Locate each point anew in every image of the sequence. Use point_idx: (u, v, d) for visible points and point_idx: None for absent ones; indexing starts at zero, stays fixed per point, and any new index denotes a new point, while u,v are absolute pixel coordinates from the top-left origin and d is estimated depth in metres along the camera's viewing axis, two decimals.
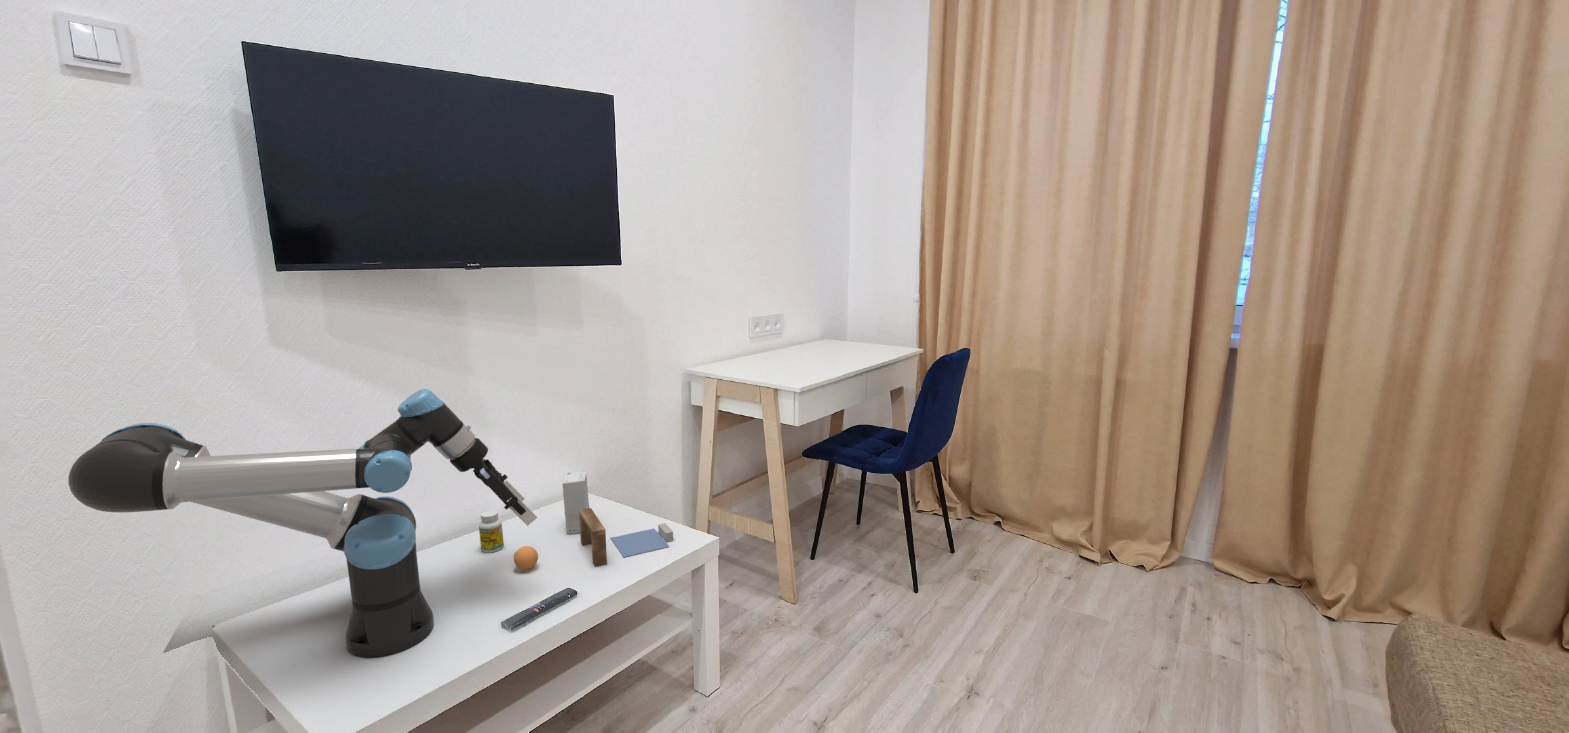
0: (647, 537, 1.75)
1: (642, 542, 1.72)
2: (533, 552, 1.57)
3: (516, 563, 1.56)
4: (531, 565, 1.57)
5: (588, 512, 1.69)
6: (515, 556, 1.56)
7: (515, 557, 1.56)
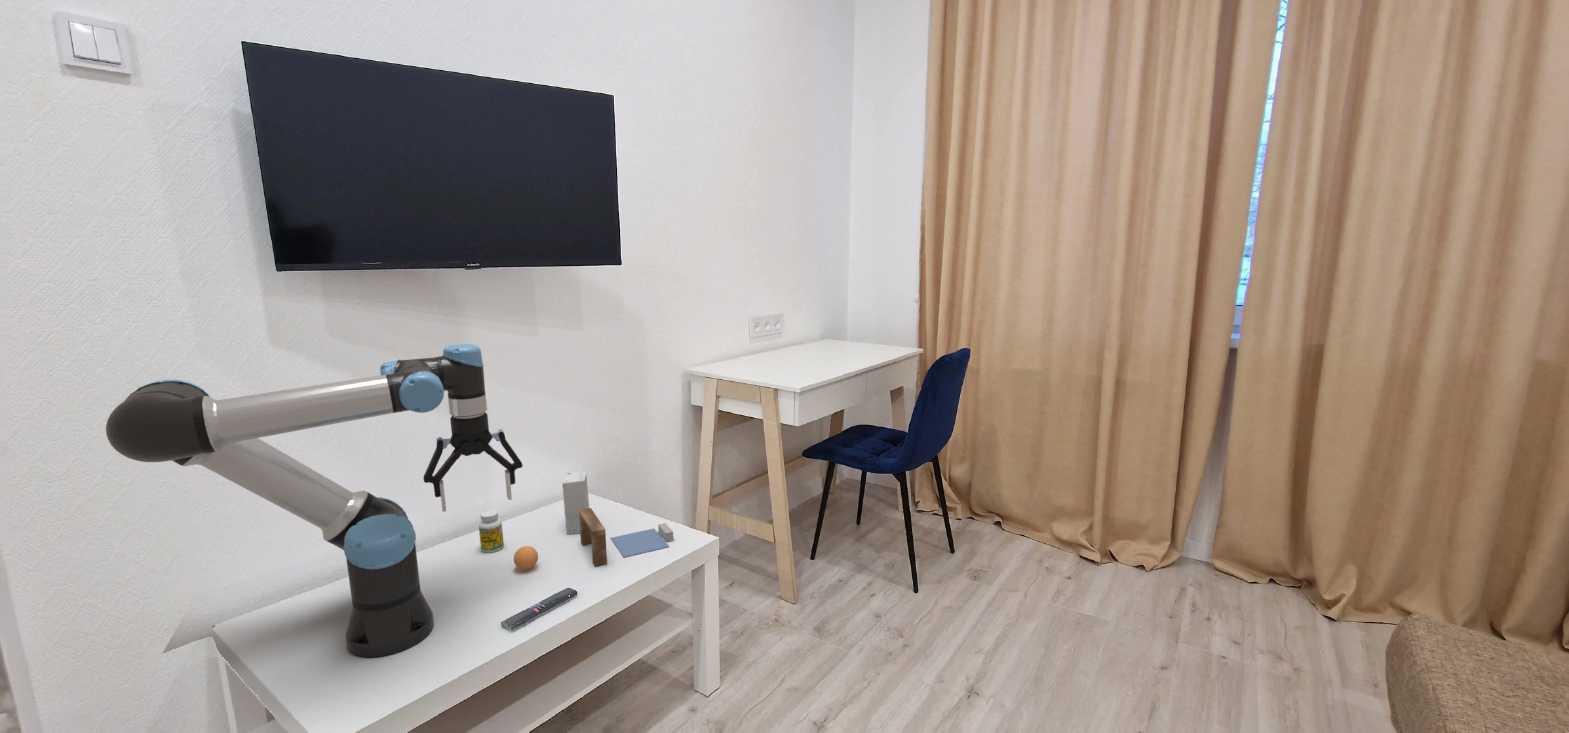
0: (647, 537, 1.75)
1: (642, 542, 1.72)
2: (533, 552, 1.57)
3: (516, 563, 1.56)
4: (531, 565, 1.57)
5: (588, 512, 1.69)
6: (515, 556, 1.56)
7: (515, 557, 1.56)
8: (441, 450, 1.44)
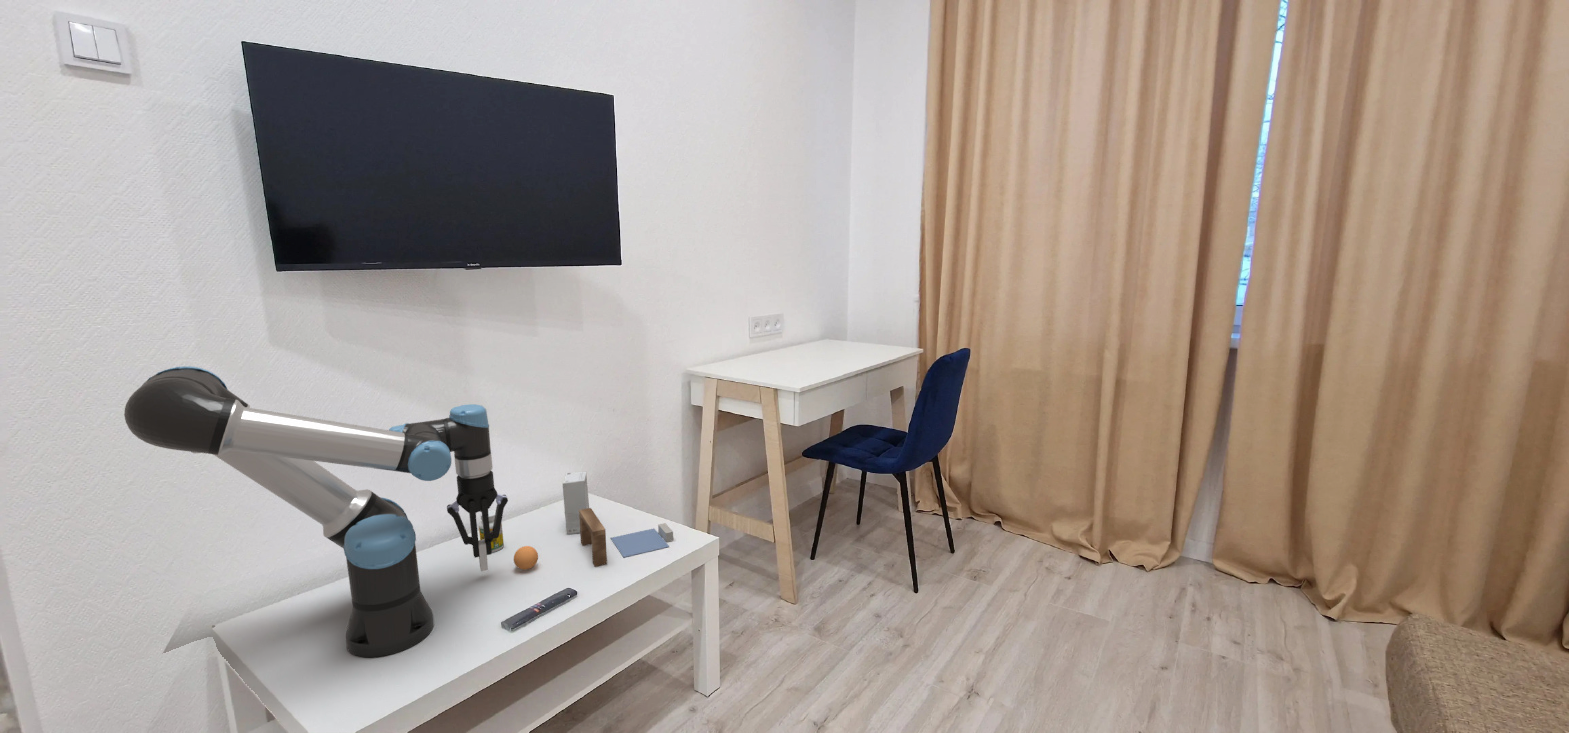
0: (647, 537, 1.75)
1: (642, 542, 1.72)
2: (533, 552, 1.57)
3: (516, 563, 1.56)
4: (531, 565, 1.57)
5: (588, 512, 1.69)
6: (515, 556, 1.56)
7: (515, 557, 1.56)
8: (456, 514, 1.48)
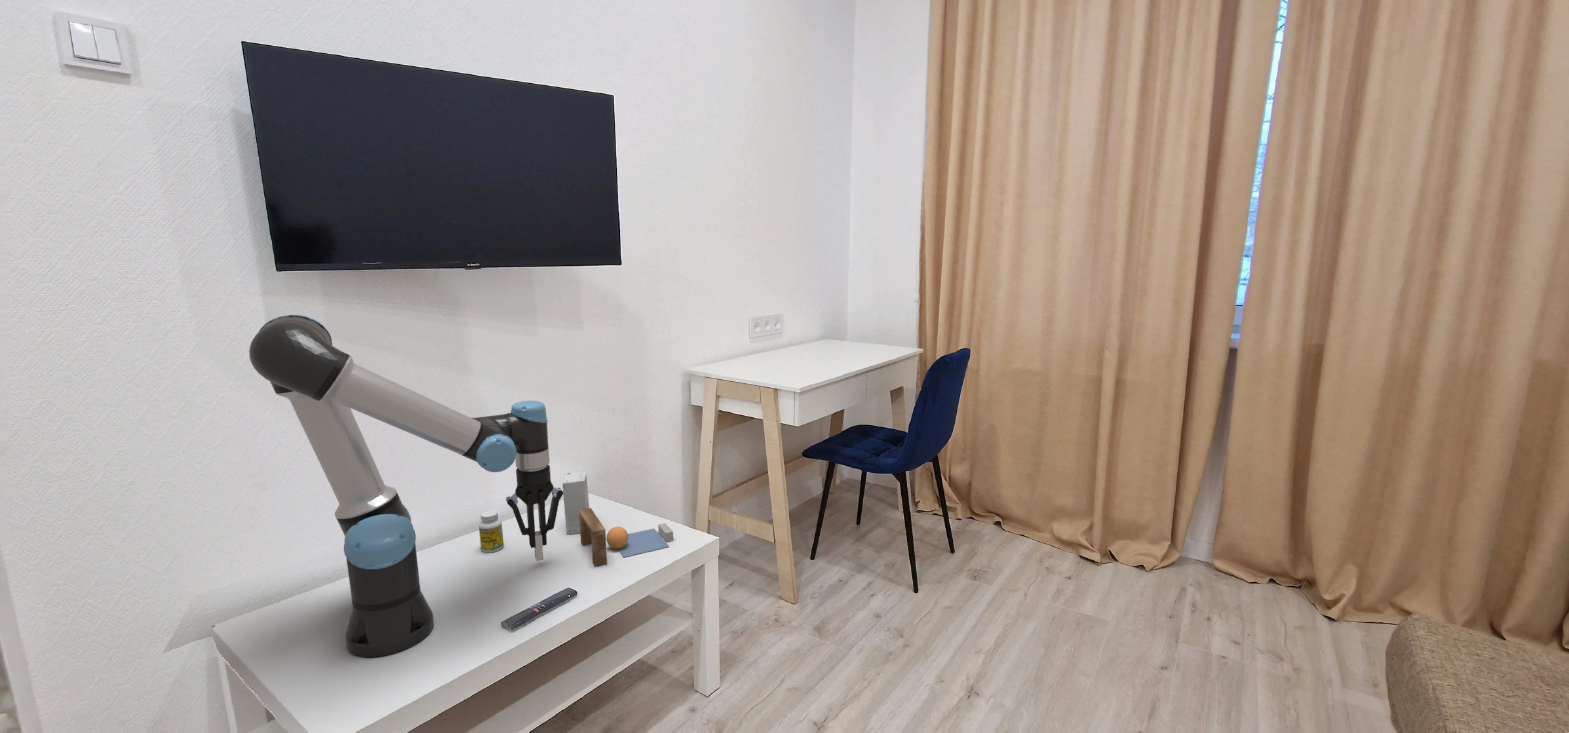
0: (647, 537, 1.75)
1: (642, 542, 1.72)
2: None
3: (617, 531, 1.68)
4: (615, 545, 1.67)
5: (588, 512, 1.69)
6: (622, 529, 1.69)
7: (622, 529, 1.69)
8: (515, 506, 1.54)
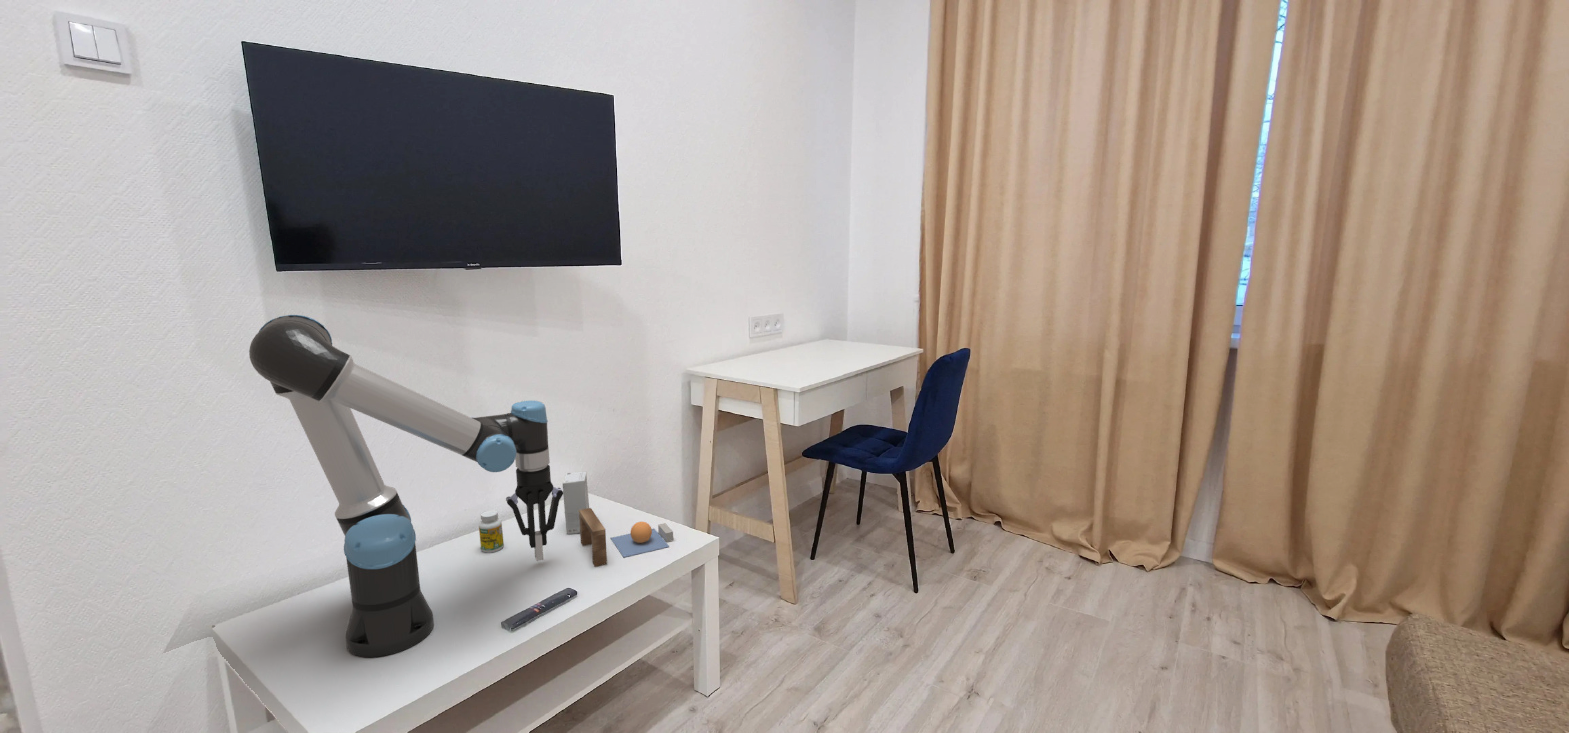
0: None
1: None
2: (634, 536, 1.70)
3: (649, 537, 1.72)
4: (644, 530, 1.70)
5: (588, 512, 1.69)
6: None
7: None
8: (515, 506, 1.54)
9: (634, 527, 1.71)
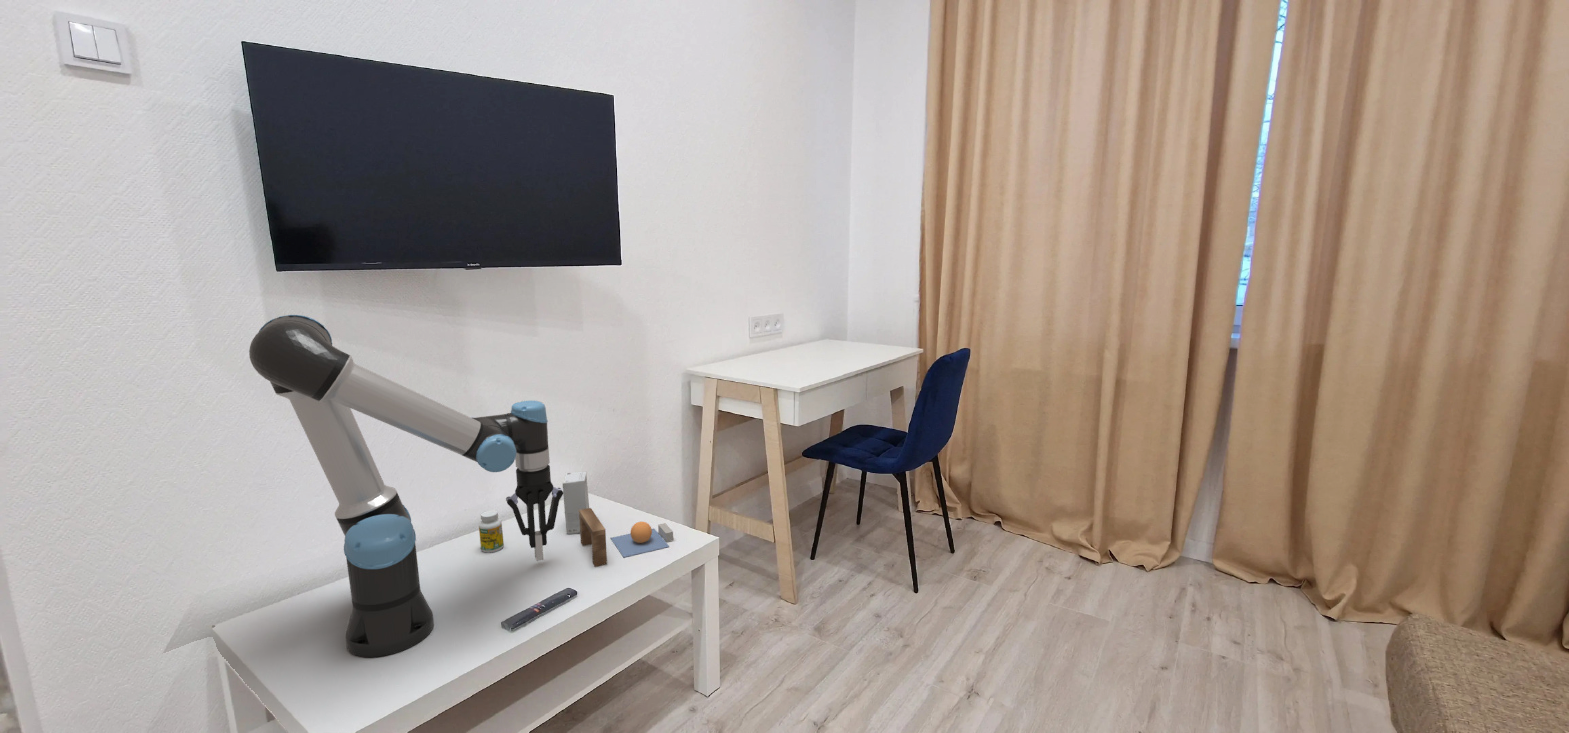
0: None
1: None
2: (634, 536, 1.70)
3: (649, 537, 1.72)
4: (644, 530, 1.70)
5: (588, 512, 1.69)
6: None
7: None
8: (515, 506, 1.54)
9: (634, 527, 1.71)
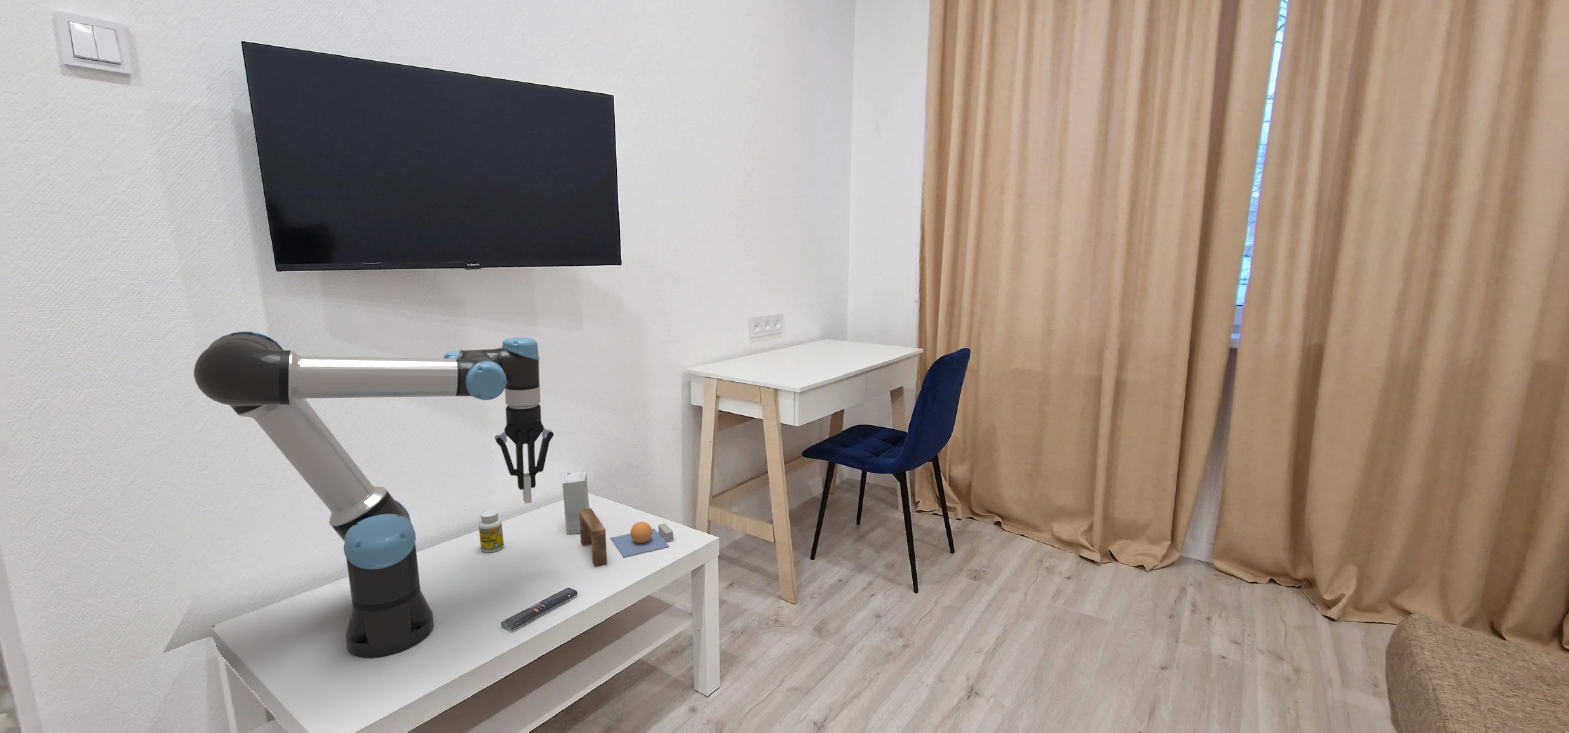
0: None
1: None
2: (634, 536, 1.70)
3: (649, 537, 1.72)
4: (644, 530, 1.70)
5: (588, 512, 1.69)
6: None
7: None
8: (504, 445, 1.50)
9: (634, 527, 1.71)
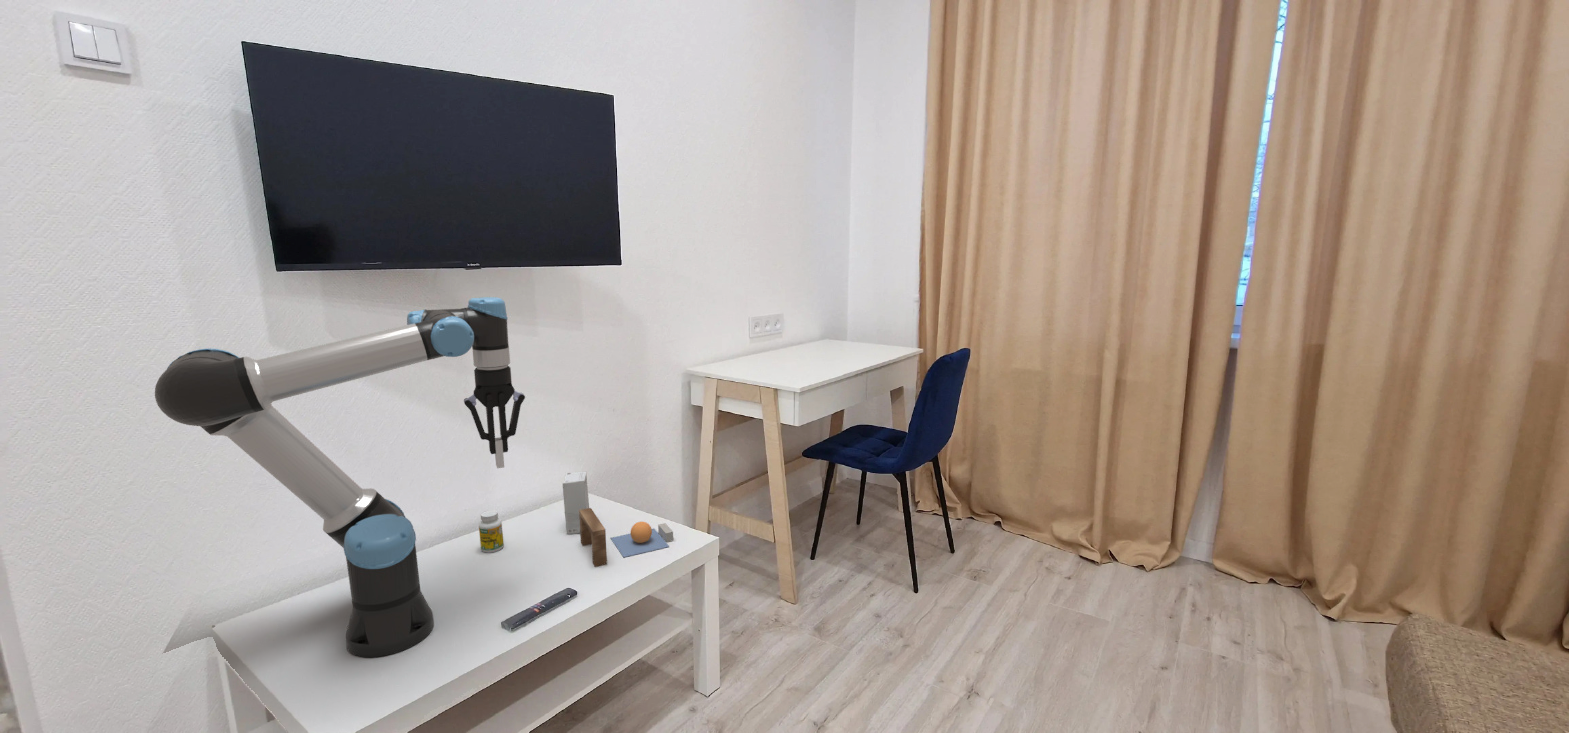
0: None
1: None
2: (634, 536, 1.70)
3: (649, 537, 1.72)
4: (644, 530, 1.70)
5: (588, 512, 1.69)
6: None
7: None
8: (474, 407, 1.46)
9: (634, 527, 1.71)
